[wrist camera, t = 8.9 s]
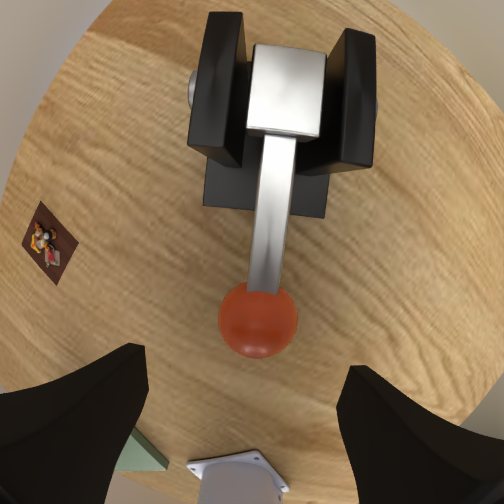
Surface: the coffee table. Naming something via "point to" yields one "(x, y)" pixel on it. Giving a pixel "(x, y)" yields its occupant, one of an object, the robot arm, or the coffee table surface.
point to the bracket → (249, 147)
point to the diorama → (49, 243)
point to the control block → (140, 455)
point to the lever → (273, 193)
